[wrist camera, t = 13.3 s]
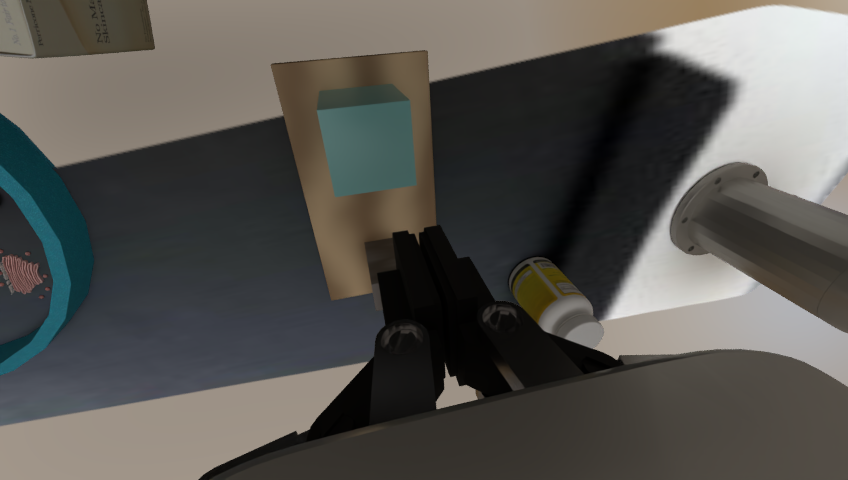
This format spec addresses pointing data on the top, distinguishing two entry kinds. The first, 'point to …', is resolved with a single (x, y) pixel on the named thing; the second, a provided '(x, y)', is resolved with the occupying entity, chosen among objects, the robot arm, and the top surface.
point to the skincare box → (73, 27)
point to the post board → (367, 212)
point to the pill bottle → (555, 302)
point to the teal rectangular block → (367, 138)
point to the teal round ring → (59, 232)
